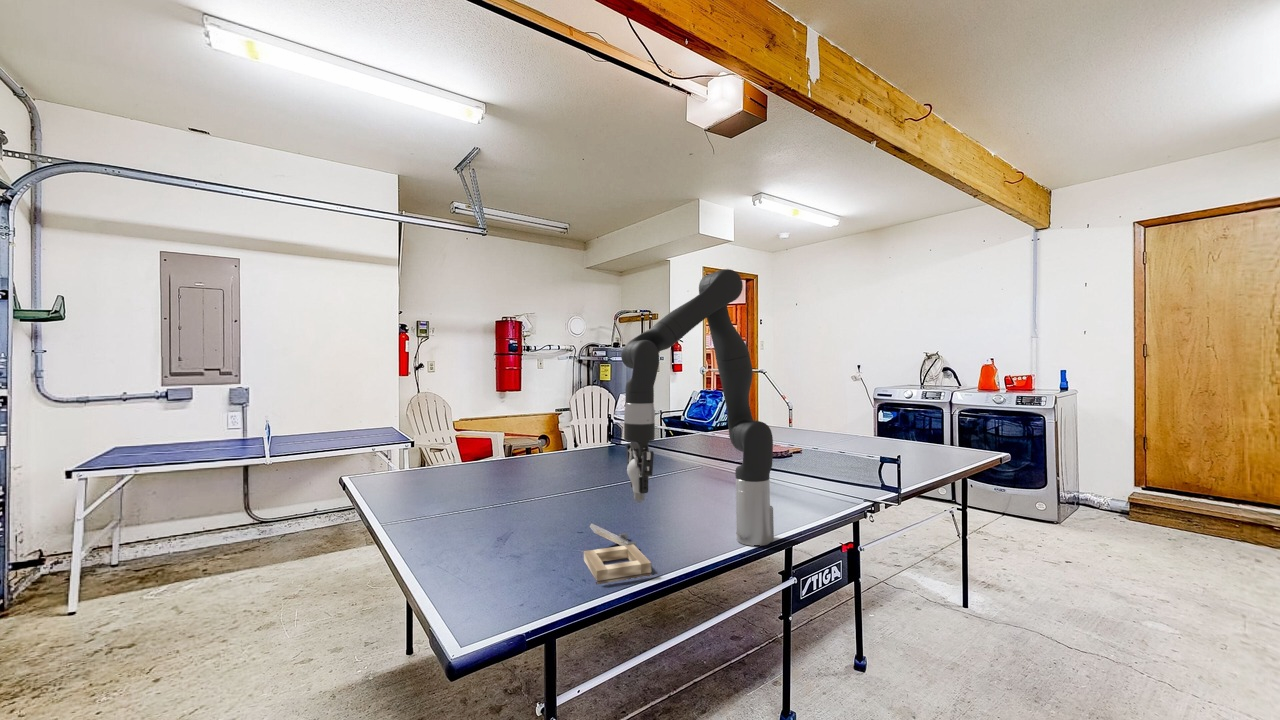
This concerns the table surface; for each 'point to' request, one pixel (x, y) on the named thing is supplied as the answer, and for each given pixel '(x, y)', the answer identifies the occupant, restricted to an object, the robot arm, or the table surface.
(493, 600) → the table surface
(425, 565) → the table surface
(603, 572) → the socket
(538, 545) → the table surface
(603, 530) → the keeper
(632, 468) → the lightbulb
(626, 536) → the keeper bracket
